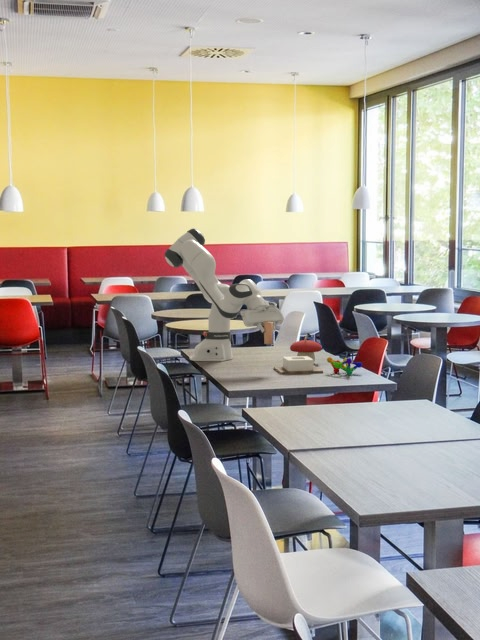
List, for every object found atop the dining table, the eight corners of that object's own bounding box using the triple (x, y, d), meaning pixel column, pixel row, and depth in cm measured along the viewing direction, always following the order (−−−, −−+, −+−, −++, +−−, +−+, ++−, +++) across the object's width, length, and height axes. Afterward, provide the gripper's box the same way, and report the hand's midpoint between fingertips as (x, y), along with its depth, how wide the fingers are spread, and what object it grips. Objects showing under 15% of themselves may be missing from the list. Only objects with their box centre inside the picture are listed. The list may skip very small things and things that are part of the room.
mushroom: (323, 365, 414) (323, 335, 413) (290, 365, 414) (290, 335, 413) (320, 361, 430) (320, 331, 428) (289, 361, 430) (289, 331, 429)
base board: (280, 374, 390) (280, 372, 390) (273, 368, 405) (273, 366, 405) (323, 372, 393) (323, 370, 393) (314, 367, 408) (314, 365, 408)
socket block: (288, 371, 392) (288, 360, 392) (282, 367, 404) (282, 356, 403) (313, 370, 394) (313, 359, 393) (307, 366, 406) (307, 356, 405)
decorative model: (342, 361, 400) (365, 356, 389) (342, 380, 398) (366, 375, 386) (322, 357, 392) (345, 352, 381) (322, 376, 390) (345, 371, 379)
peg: (265, 344, 391) (264, 322, 390) (263, 343, 395) (263, 321, 394) (273, 344, 392) (273, 322, 391) (271, 343, 396) (271, 321, 395)
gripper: (241, 305, 393) (252, 328, 385) (278, 302, 403) (290, 325, 395) (236, 314, 397) (247, 337, 390) (273, 311, 407) (285, 333, 400)
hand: (269, 331), depth 393 cm, fingers closed on peg, 4 cm apart
